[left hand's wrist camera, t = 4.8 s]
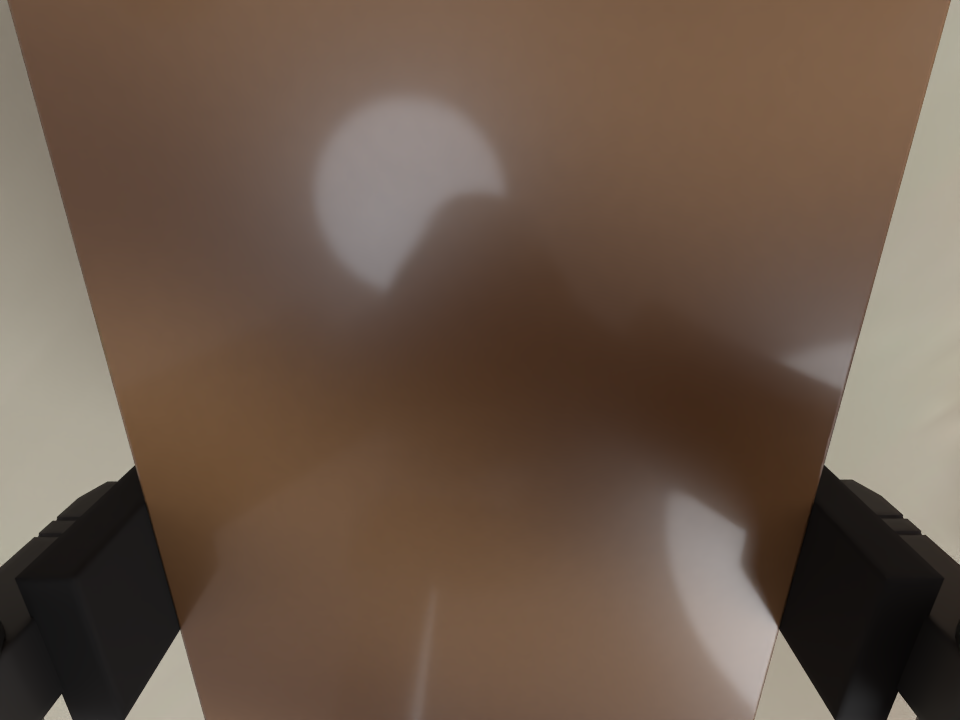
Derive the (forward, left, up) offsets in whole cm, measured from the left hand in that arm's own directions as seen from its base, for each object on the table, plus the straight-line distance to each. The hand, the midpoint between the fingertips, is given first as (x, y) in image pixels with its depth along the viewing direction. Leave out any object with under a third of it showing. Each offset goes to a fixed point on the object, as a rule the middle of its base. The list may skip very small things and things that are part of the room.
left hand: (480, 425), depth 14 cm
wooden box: (+5, -2, -3) cm, 6 cm away
